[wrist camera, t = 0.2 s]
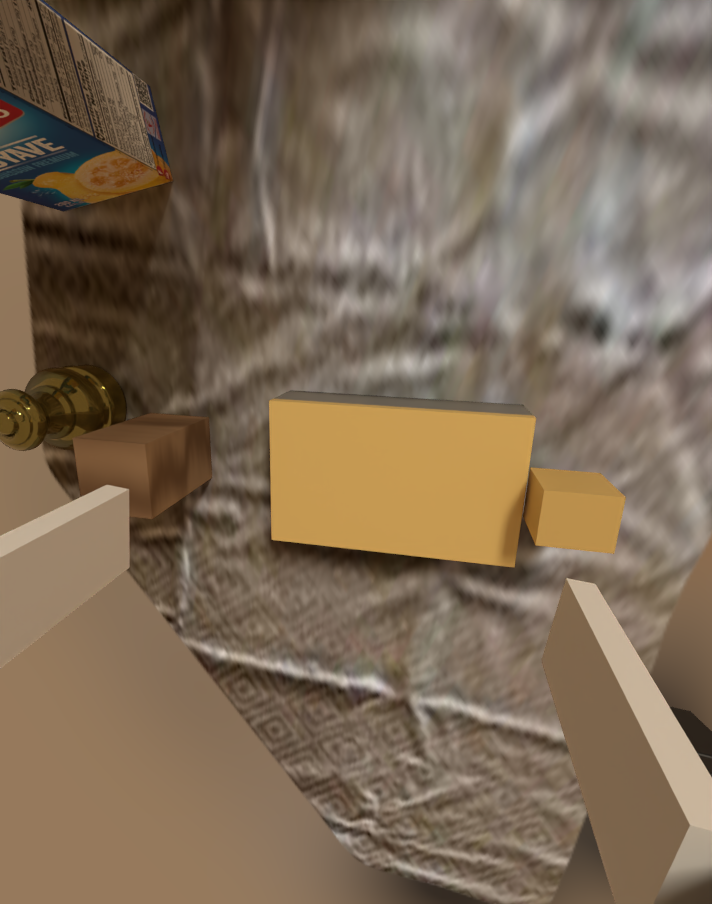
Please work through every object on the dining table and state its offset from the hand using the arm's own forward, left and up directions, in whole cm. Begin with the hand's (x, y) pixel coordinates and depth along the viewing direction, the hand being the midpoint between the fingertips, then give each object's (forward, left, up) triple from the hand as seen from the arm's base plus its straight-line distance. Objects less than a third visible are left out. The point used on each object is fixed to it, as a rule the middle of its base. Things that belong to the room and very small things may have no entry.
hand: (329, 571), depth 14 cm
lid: (+5, 0, -24) cm, 24 cm away
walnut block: (+5, -21, -28) cm, 35 cm away
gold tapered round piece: (+2, -30, -28) cm, 41 cm away
